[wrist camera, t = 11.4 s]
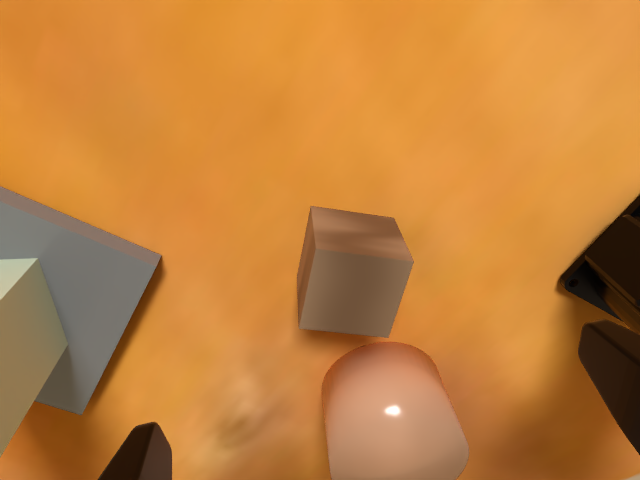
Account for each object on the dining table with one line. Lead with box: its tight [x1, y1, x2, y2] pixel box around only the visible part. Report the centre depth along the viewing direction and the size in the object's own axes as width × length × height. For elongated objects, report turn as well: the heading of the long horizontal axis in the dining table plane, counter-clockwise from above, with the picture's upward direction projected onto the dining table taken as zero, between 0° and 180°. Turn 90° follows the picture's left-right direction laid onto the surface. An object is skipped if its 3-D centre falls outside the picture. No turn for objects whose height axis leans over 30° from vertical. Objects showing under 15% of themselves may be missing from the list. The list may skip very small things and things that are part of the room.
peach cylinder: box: [322, 342, 469, 480], centre depth 25 cm, size 7×7×5 cm
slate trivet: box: [0, 187, 161, 415], centre depth 22 cm, size 11×11×1 cm
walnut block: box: [297, 206, 414, 338], centre depth 21 cm, size 4×4×4 cm
